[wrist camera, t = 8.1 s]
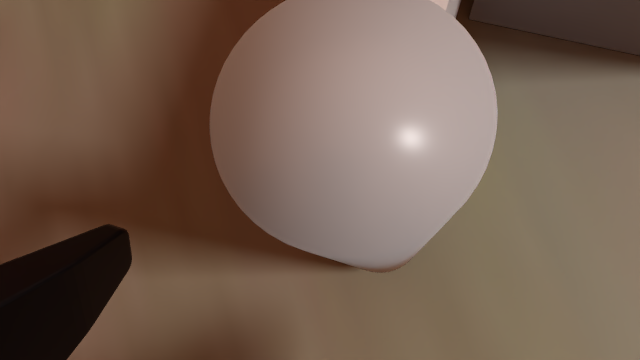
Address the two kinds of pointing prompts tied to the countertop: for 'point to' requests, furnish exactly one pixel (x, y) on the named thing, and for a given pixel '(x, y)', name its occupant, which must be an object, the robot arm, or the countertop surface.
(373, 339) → the countertop surface
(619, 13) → the grey box
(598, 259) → the countertop surface
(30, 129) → the countertop surface
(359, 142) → the side door
